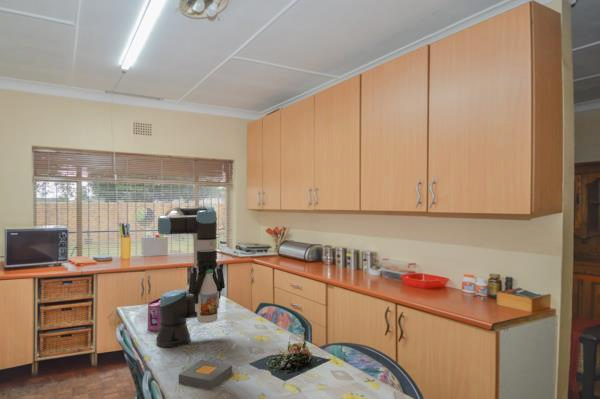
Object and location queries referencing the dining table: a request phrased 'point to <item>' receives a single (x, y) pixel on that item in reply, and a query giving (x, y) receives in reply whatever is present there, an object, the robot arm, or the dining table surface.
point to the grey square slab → (204, 379)
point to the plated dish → (290, 362)
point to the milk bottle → (208, 299)
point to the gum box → (154, 315)
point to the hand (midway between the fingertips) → (207, 309)
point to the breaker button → (206, 369)
